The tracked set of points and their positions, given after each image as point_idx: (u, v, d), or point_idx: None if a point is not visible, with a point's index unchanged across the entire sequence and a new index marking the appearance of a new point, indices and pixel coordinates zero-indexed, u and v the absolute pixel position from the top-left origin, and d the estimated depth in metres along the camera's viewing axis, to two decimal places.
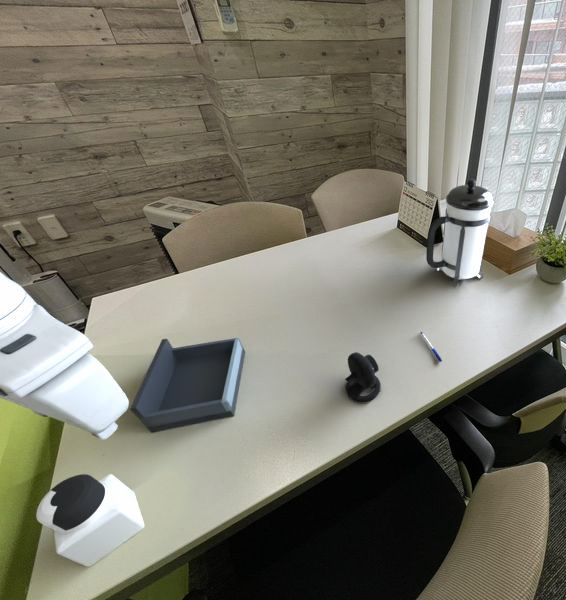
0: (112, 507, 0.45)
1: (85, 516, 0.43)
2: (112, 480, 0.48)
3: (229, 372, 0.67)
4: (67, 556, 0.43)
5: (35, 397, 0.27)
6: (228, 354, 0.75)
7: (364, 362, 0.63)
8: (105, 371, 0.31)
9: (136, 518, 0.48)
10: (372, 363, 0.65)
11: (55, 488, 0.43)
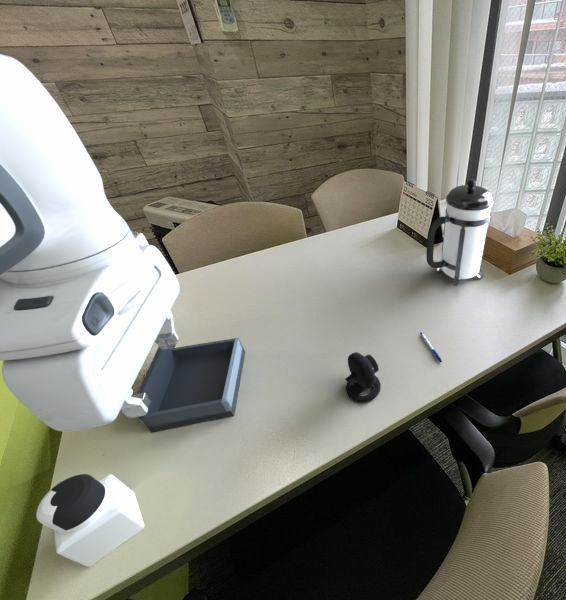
0: (112, 507, 0.45)
1: (85, 516, 0.43)
2: (112, 480, 0.48)
3: (229, 372, 0.67)
4: (67, 556, 0.43)
5: (2, 367, 0.23)
6: (228, 354, 0.75)
7: (364, 362, 0.63)
8: (80, 381, 0.24)
9: (136, 518, 0.48)
10: (372, 363, 0.65)
11: (55, 487, 0.43)
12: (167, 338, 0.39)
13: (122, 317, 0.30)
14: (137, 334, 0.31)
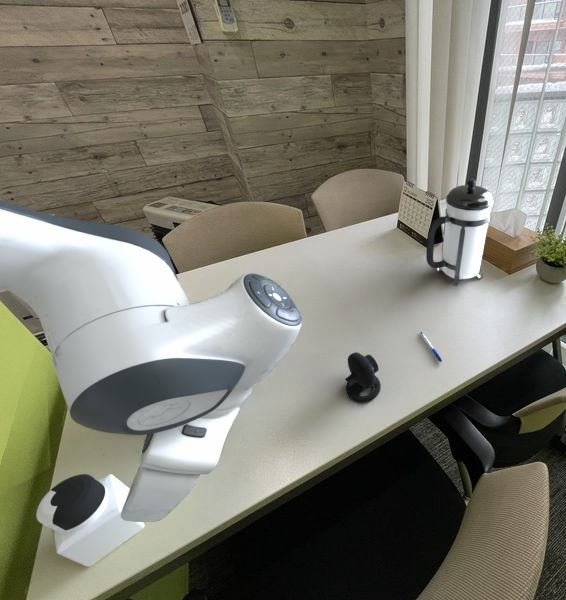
0: (112, 507, 0.45)
1: (85, 516, 0.43)
2: (112, 480, 0.48)
3: None
4: (67, 556, 0.43)
5: (143, 471, 0.30)
6: None
7: (364, 362, 0.63)
8: (185, 495, 0.32)
9: None
10: (372, 363, 0.65)
11: (55, 487, 0.43)
12: None
13: None
14: None
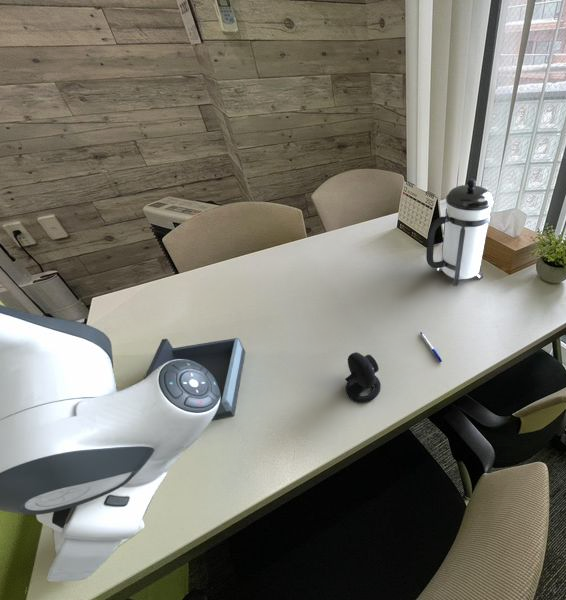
0: None
1: None
2: None
3: (229, 372, 0.67)
4: None
5: (66, 540, 0.34)
6: (228, 354, 0.75)
7: (364, 362, 0.63)
8: (107, 557, 0.36)
9: None
10: (372, 363, 0.65)
11: None
12: None
13: None
14: None
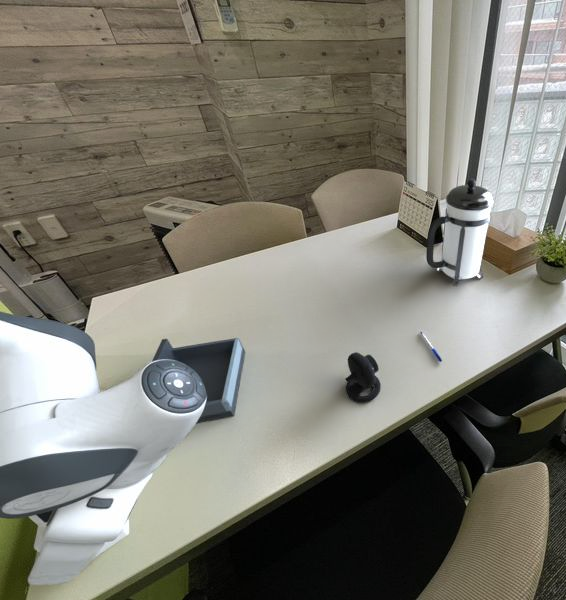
0: None
1: None
2: None
3: (229, 372, 0.67)
4: None
5: (47, 543, 0.33)
6: (228, 354, 0.75)
7: (364, 362, 0.63)
8: (90, 560, 0.35)
9: None
10: (372, 363, 0.65)
11: None
12: None
13: None
14: None
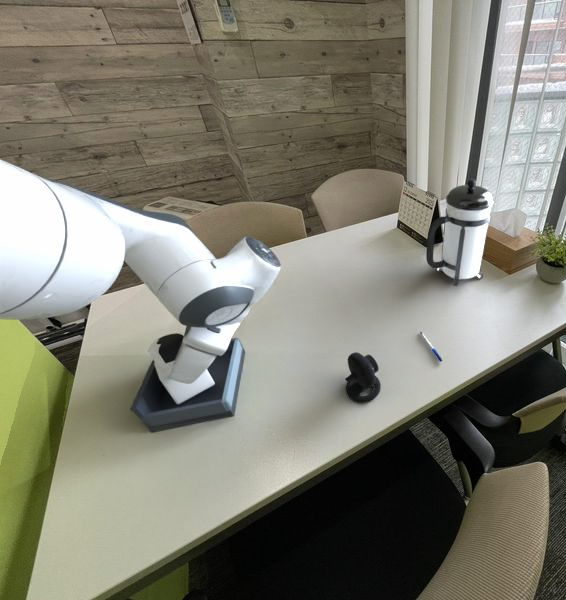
0: None
1: None
2: None
3: (229, 372, 0.67)
4: (165, 385, 0.60)
5: (185, 347, 0.52)
6: (228, 354, 0.75)
7: (364, 362, 0.63)
8: (207, 366, 0.54)
9: None
10: (372, 363, 0.65)
11: (159, 338, 0.62)
12: None
13: None
14: None
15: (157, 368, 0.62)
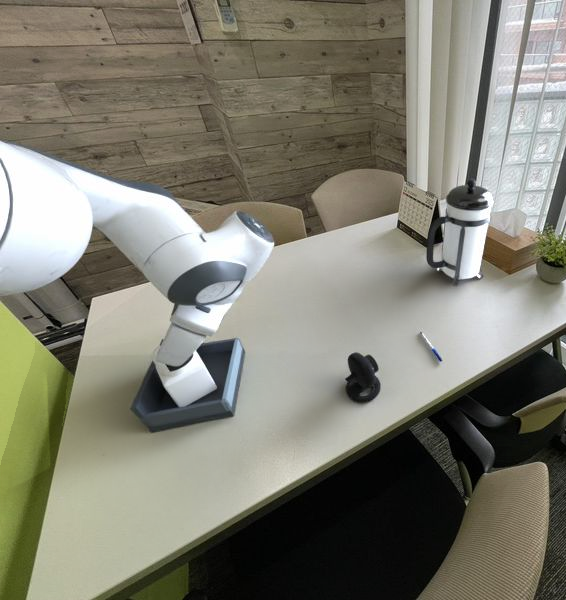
0: (198, 364, 0.63)
1: (183, 363, 0.60)
2: (195, 351, 0.66)
3: (229, 372, 0.67)
4: (170, 392, 0.60)
5: (172, 326, 0.49)
6: (228, 354, 0.75)
7: (364, 362, 0.63)
8: (196, 347, 0.51)
9: (212, 379, 0.66)
10: (372, 363, 0.65)
11: None
12: None
13: None
14: None
15: (160, 373, 0.61)
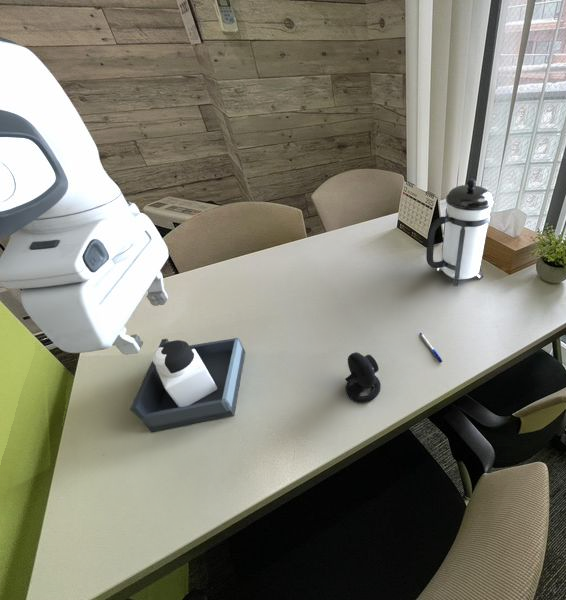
0: (199, 365, 0.63)
1: (183, 365, 0.60)
2: (195, 352, 0.66)
3: (229, 372, 0.67)
4: (170, 393, 0.60)
5: (21, 294, 0.29)
6: (228, 354, 0.75)
7: (364, 362, 0.63)
8: (81, 307, 0.30)
9: None
10: (372, 363, 0.65)
11: (162, 345, 0.61)
12: (158, 295, 0.45)
13: (117, 267, 0.36)
14: (129, 283, 0.37)
15: (160, 375, 0.61)
